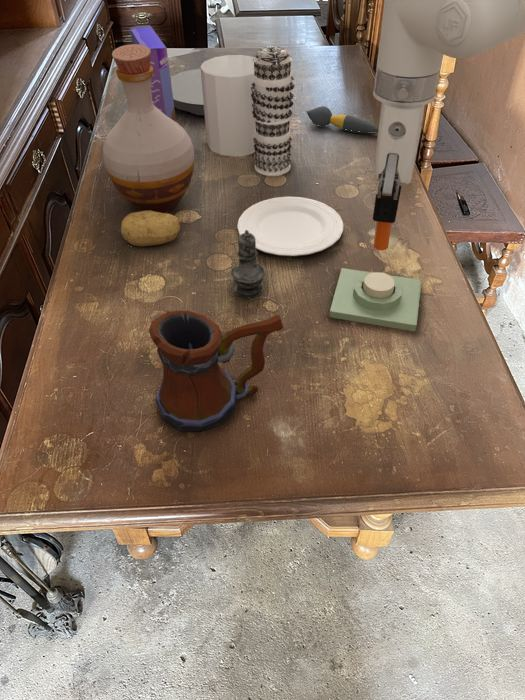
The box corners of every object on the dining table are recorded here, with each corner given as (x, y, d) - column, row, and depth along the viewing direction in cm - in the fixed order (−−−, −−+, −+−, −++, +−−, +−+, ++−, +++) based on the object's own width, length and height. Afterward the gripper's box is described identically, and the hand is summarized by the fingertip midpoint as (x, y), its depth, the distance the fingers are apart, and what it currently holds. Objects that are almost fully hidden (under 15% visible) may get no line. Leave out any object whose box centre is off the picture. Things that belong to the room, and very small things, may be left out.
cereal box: (180, 156, 131) (166, 46, 113) (161, 159, 130) (143, 49, 112) (165, 127, 142) (150, 24, 125) (147, 130, 141) (129, 26, 124)
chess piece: (229, 297, 93) (225, 239, 85) (235, 276, 97) (231, 218, 89) (263, 300, 93) (262, 241, 84) (267, 279, 97) (267, 221, 88)
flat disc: (273, 115, 146) (273, 98, 143) (170, 127, 142) (168, 109, 139) (251, 78, 165) (251, 63, 162) (160, 88, 161) (157, 72, 158)
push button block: (420, 286, 95) (423, 272, 93) (415, 331, 87) (418, 318, 85) (340, 274, 98) (342, 260, 95) (328, 317, 90) (330, 303, 87)
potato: (126, 234, 108) (120, 206, 103) (182, 231, 108) (178, 203, 103) (122, 253, 103) (116, 225, 98) (181, 250, 103) (177, 222, 99)
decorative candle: (298, 162, 127) (302, 45, 109) (281, 180, 122) (283, 60, 104) (264, 154, 130) (262, 40, 112) (246, 171, 125) (241, 53, 107)
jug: (121, 181, 122) (88, 33, 101) (200, 177, 123) (184, 29, 102) (110, 230, 109) (70, 70, 87) (199, 225, 109) (181, 65, 88)
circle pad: (394, 282, 92) (396, 274, 90) (391, 301, 88) (393, 293, 87) (364, 278, 93) (366, 270, 91) (360, 296, 89) (362, 288, 88)
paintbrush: (380, 129, 139) (383, 110, 135) (377, 138, 136) (380, 118, 132) (306, 120, 144) (307, 101, 140) (301, 128, 141) (302, 108, 137)
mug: (274, 361, 83) (274, 285, 72) (289, 421, 75) (292, 345, 64) (156, 377, 81) (138, 300, 70) (158, 440, 73) (138, 365, 62)
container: (275, 137, 137) (275, 60, 124) (246, 161, 128) (243, 81, 115) (227, 126, 142) (222, 51, 129) (196, 148, 133) (187, 70, 120)
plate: (334, 269, 98) (335, 261, 97) (225, 255, 102) (224, 247, 101) (349, 210, 113) (349, 201, 111) (252, 199, 116) (251, 191, 115)
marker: (389, 243, 84) (398, 176, 76) (387, 251, 82) (396, 184, 74) (374, 241, 84) (381, 175, 76) (372, 249, 83) (379, 183, 75)
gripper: (433, 111, 60) (406, 249, 73) (440, 63, 71) (415, 191, 84) (366, 105, 62) (350, 242, 75) (382, 59, 72) (366, 186, 85)
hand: (385, 214), depth 79 cm, fingers closed on marker, 2 cm apart
